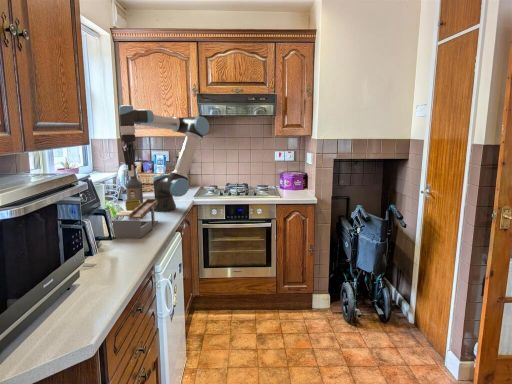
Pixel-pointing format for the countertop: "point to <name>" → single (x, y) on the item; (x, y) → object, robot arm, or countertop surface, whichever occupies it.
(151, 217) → the stand
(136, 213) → the wooden chute
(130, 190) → the liquor
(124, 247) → the countertop surface
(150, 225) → the bin
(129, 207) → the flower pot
